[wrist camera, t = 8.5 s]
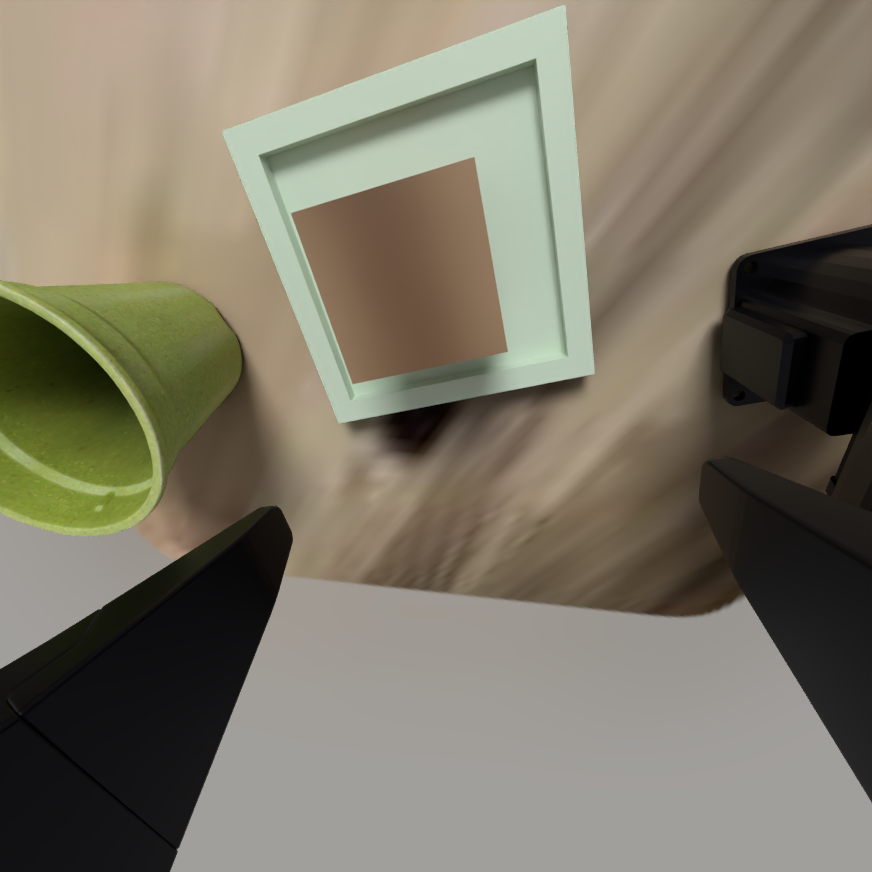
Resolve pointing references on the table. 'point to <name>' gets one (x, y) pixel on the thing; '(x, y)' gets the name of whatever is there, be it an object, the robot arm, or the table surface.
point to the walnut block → (406, 273)
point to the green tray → (426, 150)
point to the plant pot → (103, 398)
